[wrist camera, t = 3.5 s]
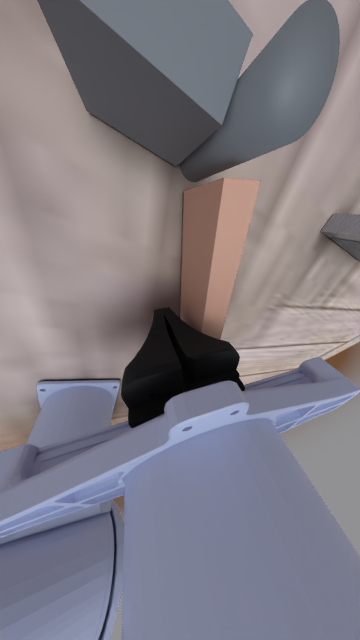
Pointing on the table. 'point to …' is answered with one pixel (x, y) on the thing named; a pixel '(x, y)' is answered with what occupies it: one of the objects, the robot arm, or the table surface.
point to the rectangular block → (213, 249)
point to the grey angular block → (344, 232)
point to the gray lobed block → (197, 75)
